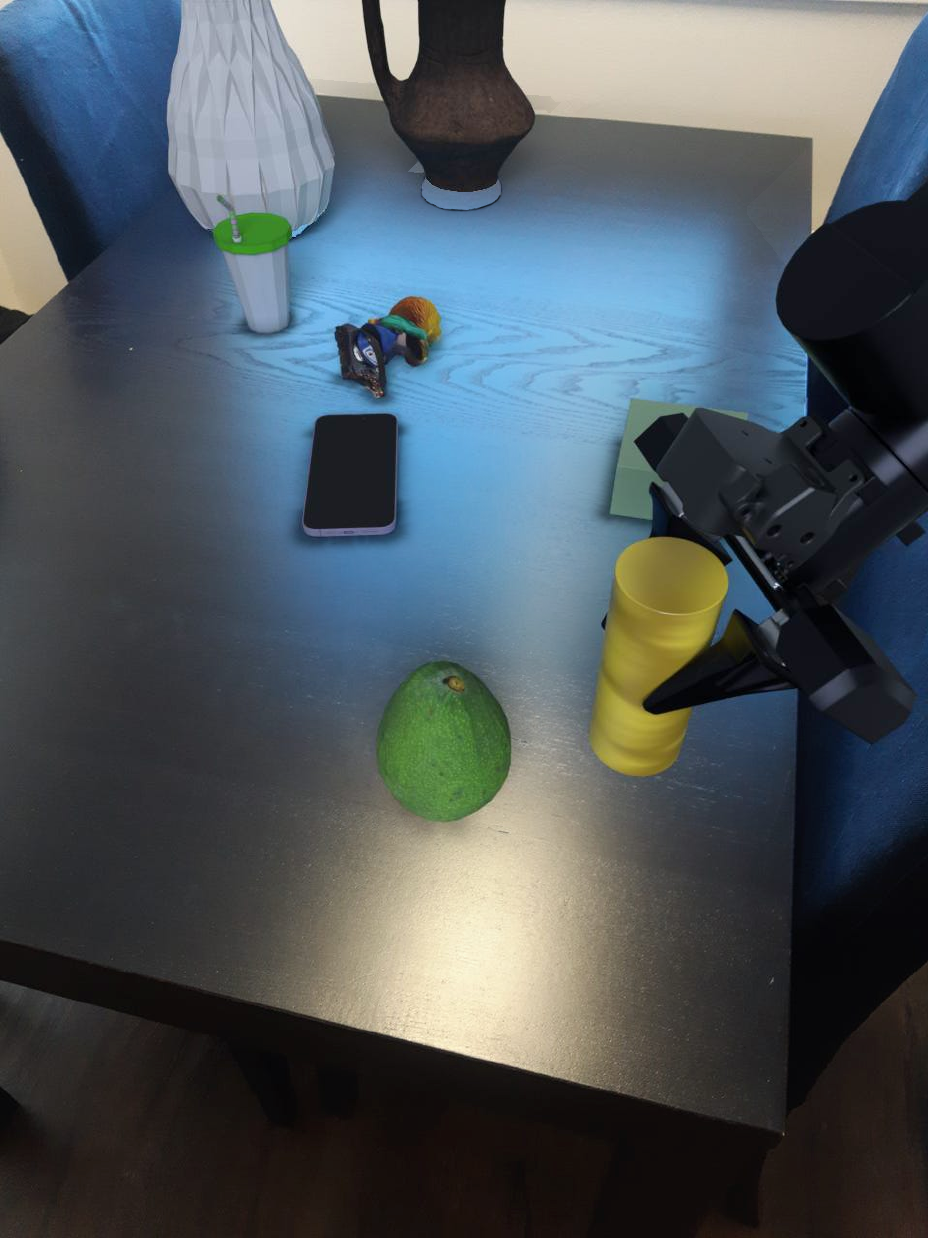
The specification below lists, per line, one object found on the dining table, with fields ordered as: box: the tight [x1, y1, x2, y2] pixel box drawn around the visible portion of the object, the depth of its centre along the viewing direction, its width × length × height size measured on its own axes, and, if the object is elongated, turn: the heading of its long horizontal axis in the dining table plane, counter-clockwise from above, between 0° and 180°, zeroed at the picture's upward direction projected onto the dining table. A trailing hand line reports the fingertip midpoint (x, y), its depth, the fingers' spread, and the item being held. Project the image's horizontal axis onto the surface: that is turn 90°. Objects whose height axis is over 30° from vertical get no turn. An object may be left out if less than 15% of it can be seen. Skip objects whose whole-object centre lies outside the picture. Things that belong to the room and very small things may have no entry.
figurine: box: [333, 295, 443, 399], centre depth 88 cm, size 11×8×6 cm, turn 128°
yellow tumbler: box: [588, 537, 730, 777], centre depth 45 cm, size 5×5×13 cm
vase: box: [166, 0, 336, 232], centre depth 102 cm, size 20×20×30 cm
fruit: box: [375, 660, 512, 823], centre depth 51 cm, size 8×8×12 cm
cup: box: [211, 195, 292, 335], centre depth 91 cm, size 8×8×15 cm
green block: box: [609, 397, 749, 521], centre depth 75 cm, size 10×10×5 cm
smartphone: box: [301, 412, 399, 538], centre depth 77 cm, size 8×1×16 cm
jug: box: [361, 0, 536, 192], centre depth 109 cm, size 21×18×30 cm
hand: (625, 668), depth 45 cm, fingers closed on yellow tumbler, 5 cm apart
